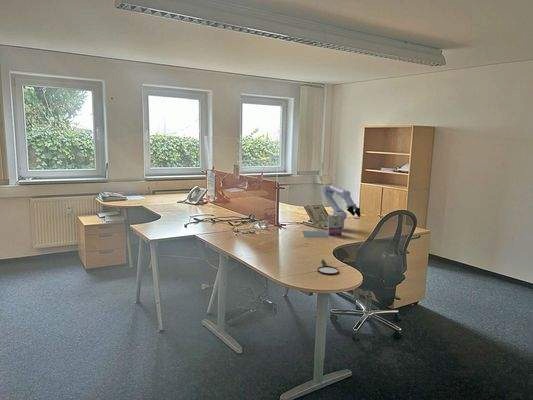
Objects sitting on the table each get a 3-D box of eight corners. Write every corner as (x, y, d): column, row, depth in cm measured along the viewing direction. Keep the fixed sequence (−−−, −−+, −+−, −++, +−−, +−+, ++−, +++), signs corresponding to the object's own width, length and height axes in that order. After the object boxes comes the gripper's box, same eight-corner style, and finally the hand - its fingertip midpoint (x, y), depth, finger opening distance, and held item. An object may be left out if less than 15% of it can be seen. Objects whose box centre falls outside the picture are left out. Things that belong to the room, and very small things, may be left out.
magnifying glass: (332, 263, 259) (332, 259, 258) (340, 276, 235) (341, 272, 235) (313, 262, 258) (313, 259, 258) (319, 276, 235) (319, 272, 234)
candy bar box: (338, 233, 338) (340, 214, 335) (341, 235, 333) (342, 215, 330) (326, 234, 335) (327, 214, 332) (328, 235, 330) (329, 215, 327)
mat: (302, 231, 343) (302, 230, 343) (324, 232, 344) (324, 231, 343) (304, 237, 324) (304, 236, 324) (328, 238, 324) (328, 237, 324)
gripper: (347, 198, 331) (354, 211, 324) (358, 201, 340) (365, 214, 333) (341, 203, 335) (348, 216, 327) (352, 206, 344) (359, 219, 337)
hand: (356, 215), depth 330 cm, fingers open, 7 cm apart
